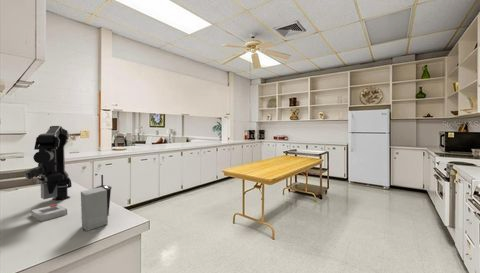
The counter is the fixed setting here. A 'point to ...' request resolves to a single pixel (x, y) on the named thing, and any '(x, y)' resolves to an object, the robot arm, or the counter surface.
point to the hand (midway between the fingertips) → (48, 192)
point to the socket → (48, 212)
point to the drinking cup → (107, 192)
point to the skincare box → (94, 208)
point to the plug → (47, 192)
